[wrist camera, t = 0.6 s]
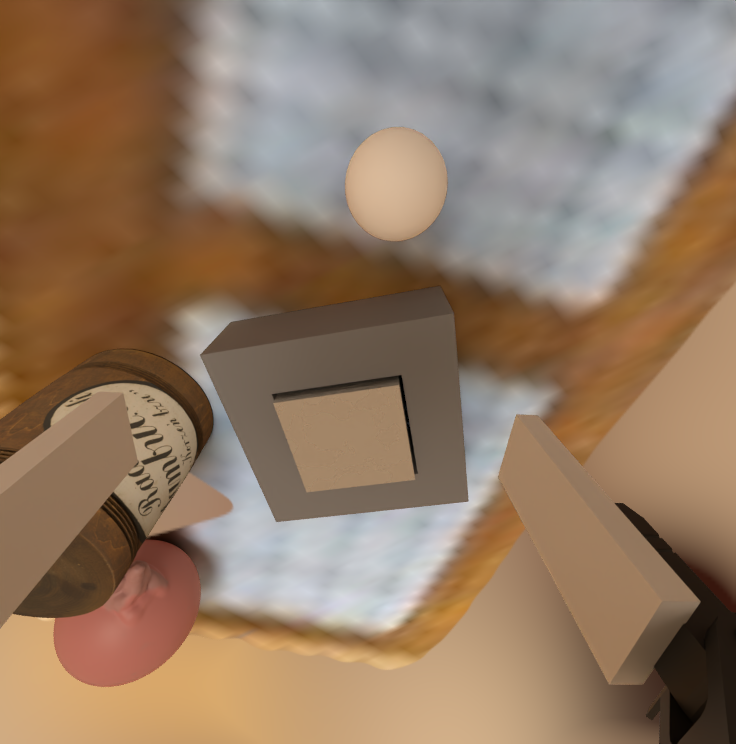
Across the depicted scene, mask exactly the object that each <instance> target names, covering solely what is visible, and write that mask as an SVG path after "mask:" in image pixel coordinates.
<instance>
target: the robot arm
mask: <svg viewBox="0 0 736 744" xmlns="http://www.w3.org/2000/svg"><path fill="white" fill-rule="evenodd" d="M137 462H138V460H137V455H136V450H135V446H134V441H133V436H132V431H131V427H130V422H129V417H128V413H127V408H126V403H125V398H124V394H123V393H117V392H99V391H98V392H97V393H96V394H94V395H93V396H92V397H90V398H89V399H88V400H86V401H85V402H84V403H82V404H81V405H80V406H78V407H77V408H76V409H74V410H73V411H71V412H70V413H69V414H67V415H66V416H65V417H63V418H62V419H61V420H59V421H58V422H57V423H55V424H54V425H53V426H51V427H50V428H49V429H47V430H46V431H45V432H43V433H42V434H41V435H39V436H38V437H36V438H35V439H34V440H32V441H31V442H30V443H28V444H27V445H26V446H24V447H23V448H22V449H20V450H19V451H18V452H16V453H15V454H14V455H12V456H11V457H10V458H8V459H7V460H6V461H4V462H3V463H1V464H0V628H1V627H2V626H3V624H4V623H5V622H6V621H7V619H8V618H9V617H10V616H11V615H12V613H13V612H14V611H15V610H16V609H17V607H18V606H19V605H20V604H21V603H22V601H23V600H24V599H25V598H26V597H27V595H28V594H29V593H30V592H31V591H32V589H33V588H34V587H35V586H36V584H37V583H38V582H39V581H40V580H41V578H42V577H43V576H44V575H45V574H46V572H47V571H48V570H49V569H50V568H51V566H52V565H53V564H54V563H55V561H56V560H57V559H58V558H59V557H60V555H61V554H62V553H63V552H64V551H65V549H66V548H67V547H68V546H69V545H70V543H71V542H72V541H73V540H74V539H75V537H76V536H77V535H78V534H79V532H80V531H81V530H82V529H83V528H84V526H85V525H86V524H87V523H88V522H89V520H90V519H91V518H92V517H93V516H94V514H95V513H96V512H97V511H98V509H99V508H100V507H101V506H102V505H103V503H104V502H105V501H106V500H107V499H108V497H109V496H110V495H111V494H112V493H113V491H114V490H115V489H116V488H117V487H118V485H119V484H120V483H121V482H122V480H123V479H124V478H125V477H126V476H127V474H128V473H129V472H130V471H131V470H132V468H133V467H134V466H135V465H136V464H137ZM498 478H499V480H500V481H501V483H502V485H503V487H504V489H505V491H506V493H507V494H508V496H509V498H510V500H511V502H512V504H513V506H514V508H515V509H516V511H517V513H518V515H519V517H520V519H521V521H522V522H523V524H524V526H525V528H526V530H527V532H528V533H529V535H530V537H531V539H532V541H533V543H534V545H535V547H536V549H537V550H538V552H539V554H540V556H541V558H542V560H543V561H544V563H545V565H546V567H547V569H548V571H549V573H550V575H551V577H552V578H553V580H554V582H555V584H556V586H557V588H558V589H559V592H560V593H561V595H562V597H563V599H564V601H565V603H566V605H567V606H568V608H569V610H570V612H571V614H572V616H573V618H574V620H575V621H576V623H577V625H578V627H579V629H580V631H581V633H582V634H583V636H584V638H585V640H586V642H587V644H588V646H589V648H590V649H591V651H592V653H593V655H594V657H595V659H596V660H597V662H598V664H599V666H600V668H601V670H602V672H603V674H604V676H605V677H606V679H607V681H608V683H609V684H610V685H611V684H612V685H613V684H614V685H615V684H618V685H621V684H622V685H624V684H625V685H628V684H629V685H630V684H632V685H641V684H643V683H644V682H645V681H646V679H647V678H648V676H649V675H650V673H651V672H652V670H653V669H654V668H655V669H656V671H657V672H658V674H659V675H660V677H661V678H662V680H663V681H664V683H665V684H666V685H665V687H664V688H663V689H662V691H661V692H660V694H659V695H658V696H657V698H656V699H655V700H654V701H653V703H652V704H651V705H650V707H649V709H648V712H647V714H646V717H648V718H649V719H651V720H653V719H654V717H655V716H656V715H657V713H658V712H659V711H660V730H659V732H660V733H659V744H736V613H734V612H731V611H729V610H728V609H727V608H726V606H725V605H724V604H723V603H722V602H721V601H720V600H719V599H718V598H717V597H716V596H715V595H714V594H713V593H712V591H711V590H710V589H709V588H708V587H707V586H706V585H705V584H704V583H703V582H702V581H701V580H700V578H699V577H698V576H697V575H696V574H695V573H694V572H693V571H692V570H691V569H690V568H689V567H688V566H687V564H686V563H685V562H684V561H683V560H682V559H681V558H680V557H679V556H678V555H677V554H676V553H673V552H672V548H671V547H670V546H669V545H668V544H667V543H666V542H665V541H664V540H663V539H662V538H659V535H658V533H657V532H656V531H655V530H654V529H653V528H652V527H651V526H650V525H649V523H648V522H647V521H646V520H645V519H644V518H643V517H641V516H640V515H638V514H637V513H636V512H634V511H633V510H632V509H630V508H629V507H627V506H626V505H625V504H623V503H614V502H613V501H612V500H611V499H610V498H609V496H608V495H607V494H606V493H605V492H604V491H603V490H602V489H601V487H600V486H599V485H598V484H597V483H596V482H595V481H594V479H593V478H592V477H591V476H590V475H589V474H588V473H587V471H586V470H585V469H584V468H583V467H582V466H581V465H580V463H579V462H578V461H577V460H576V459H575V458H574V457H573V455H572V454H571V453H570V452H569V451H568V450H567V449H566V447H565V446H564V445H563V444H562V443H561V442H560V441H559V439H558V438H557V437H556V436H555V435H554V434H553V433H552V431H551V430H550V429H549V428H548V427H547V426H546V425H545V423H544V422H543V421H542V420H541V419H540V418H539V417H538V415H519V414H516V417H515V421H514V424H513V428H512V431H511V434H510V438H509V441H508V445H507V448H506V451H505V455H504V458H503V462H502V465H501V469H500V472H499V475H498Z"/></svg>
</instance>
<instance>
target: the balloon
mask: <svg viewBox="0 0 736 744" xmlns="http://www.w3.org/2000/svg"><path fill="white" fill-rule="evenodd" d="M200 597H201V586H200V579H199V575H198V572H197V569H196V567H195V565H194V563H193V562H192V560H191V559H190V558H189V556H188V555H187V554H186V553H185V552H184V551H182V550H181V549H180V548H178V547H176V546H175V545H173V544H170V543H167V542H164V541H159V540H145V541H144V542H143V544H142V546H141V547H140V549H139V550H138V552H137V554H136V557H135V559H134V561H133V563H132V564H131V566H130V568H129V569H128V571H127V573H126V574H125V576H124V578H123V579H122V581H121V582H120V584H119V586H118V587H117V589H116V590H115V592H114V593H113V595H112V596H111V597H110V599H109V600H108V601H107V602H106V603H105V604H104V605H103V606H101V607H100V608H98V609H96V610H94V611H92V612H90V613H87V614H84V615H79V616H73V617H67V618H56V619H55V624H54V644H55V650H56V653H57V656H58V658H59V661H60V662H61V664H62V666H63V667H64V668H65V670H66V671H67V672H68V673H69V674H70V675H72V676H73V677H74V678H76V679H77V680H79V681H81V682H84V683H86V684H89V685H93V686H100V687H111V686H119V685H124V684H127V683H130V682H133V681H136V680H138V679H140V678H142V677H144V676H146V675H148V674H150V673H151V672H153V671H154V670H156V669H157V668H159V667H160V666H161V665H162V664H163V663H165V662H166V661H167V660H168V659H169V658H170V657H171V656H172V655H173V654H174V653H175V652H176V651H177V650H178V649H179V647H180V646H181V645H182V643H183V642H184V640H185V639H186V637H187V636H188V634H189V632H190V631H191V629H192V627H193V624H194V622H195V619H196V617H197V613H198V609H199V605H200Z"/></svg>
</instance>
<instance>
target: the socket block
mask: <svg viewBox="0 0 736 744" xmlns="http://www.w3.org/2000/svg"><path fill="white" fill-rule="evenodd" d="M200 356H201V358H202V360H203V363H204V365H205V367H206V369H207V371H208V373H209V376H210V378H211V380H212V382H213V384H214V387H215V389H216V391H217V393H218V395H219V398H220V400H221V402H222V404H223V406H224V408H225V411H226V413H227V415H228V417H229V419H230V422H231V424H232V426H233V428H234V430H235V433H236V435H237V437H238V439H239V441H240V443H241V446H242V448H243V450H244V452H245V454H246V457H247V459H248V461H249V463H250V465H251V468H252V470H253V472H254V474H255V476H256V478H257V481H258V483H259V485H260V487H261V489H262V492H263V494H264V496H265V498H266V500H267V503H268V505H269V507H270V509H271V511H272V513H273V516H274V518H275V520H276V522H281V521H290V520H300V519H309V518H318V517H328V516H337V515H346V514H356V513H365V512H375V511H384V510H393V509H403V508H412V507H422V506H431V505H440V504H450V503H459V502H468V489H467V476H466V463H465V450H464V437H463V424H462V411H461V398H460V385H459V372H458V359H457V346H456V333H455V320H454V312H453V310H452V308H451V307H450V305H449V303H448V301H447V299H446V297H445V295H444V293H443V291H442V289H441V287H440V286H437V287H431V288H425V289H420V290H414V291H408V292H402V293H397V294H391V295H385V296H379V297H373V298H368V299H362V300H356V301H350V302H345V303H339V304H333V305H327V306H321V307H316V308H310V309H304V310H298V311H293V312H287V313H281V314H275V315H269V316H264V317H258V318H252V319H246V320H241V321H235V322H231V323H230V324H229V325H228V326H227V327H226V328H225V329H224V330H223V331H222V332H221V333H220V334H219V335H218V337H217V338H216V339H215V340H214V341H213V342H212V343H211V344H210V345H209V346H208V347H207V348H206V349H205V350H204V351H203V353H202V354H201V355H200ZM397 375H402V380H403V386H404V392H405V398H406V404H407V410H408V417H409V423H410V428H408V432H409V438H410V444H411V450H412V456H413V464H414V473H415V480H410V481H401V482H392V483H384V484H375V485H366V486H358V487H349V488H340V489H331V490H323V491H314V492H306V489H305V487H304V484H303V481H302V479H301V476H300V473H299V471H298V468H297V465H296V463H295V460H294V457H293V455H292V452H291V450H290V447H289V444H288V442H287V439H286V436H285V434H284V431H283V428H282V426H281V423H280V420H279V418H278V415H277V412H276V410H275V407H274V404H273V402H274V400H275V398H276V396H277V393H282V392H289V391H296V390H303V389H309V388H316V387H323V386H330V385H336V384H343V383H350V382H357V381H363V380H370V379H377V378H384V377H391V376H397Z"/></svg>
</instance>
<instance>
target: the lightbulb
mask: <svg viewBox="0 0 736 744" xmlns="http://www.w3.org/2000/svg"><path fill="white" fill-rule="evenodd" d="M447 184H448V180H447V170H446V167H445V163H444V160H443V158H442V156H441V154H440V152H439V150H438V148H437V147H436V146H435V145H434V143H433V142H432V141H431V140H430V139H428V138H427V137H426V136H425V135H424V134H422V133H420V132H418V131H416V130H414V129H409V128H405V127H391V128H387V129H383V130H380V131H378V132H376V133H374V134H372V135H371V136H370V137H368V138H367V139H366V140H365V141H363V142H362V144H361V145H360V146H359V147H358V148H357V150H356V151H355V153H354V155H353V157H352V158H351V160H350V163H349V166H348V169H347V172H346V180H345V194H346V199H347V204H348V207H349V209H350V211H351V214H352V216H353V217H354V219H355V220H356V222H357V223H358V224H359V225H360V226H361V227H362V228H363V229H364V230H365V231H366V232H368V233H369V234H370V235H372V236H374V237H376V238H379V239H381V240H386V241H403V240H407V239H410V238H413V237H415V236H417V235H419V234H420V233H422V232H423V231H425V230H426V229H427V228H428V227H429V226H430V225H431V224H432V223H433V222H434V221H435V219H436V218H437V216H438V215H439V213H440V211H441V209H442V207H443V205H444V201H445V198H446V194H447Z"/></svg>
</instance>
